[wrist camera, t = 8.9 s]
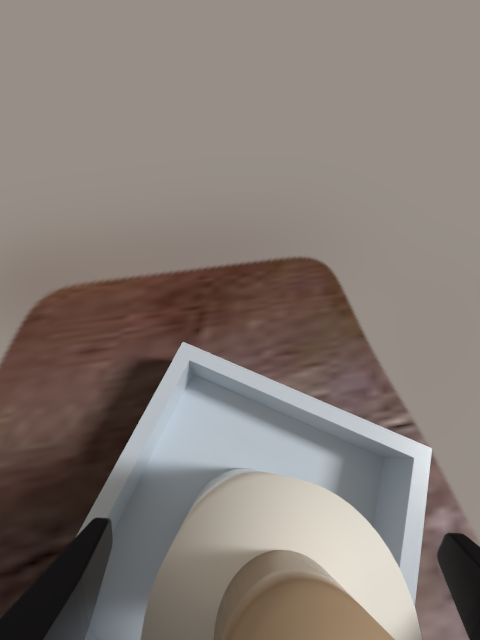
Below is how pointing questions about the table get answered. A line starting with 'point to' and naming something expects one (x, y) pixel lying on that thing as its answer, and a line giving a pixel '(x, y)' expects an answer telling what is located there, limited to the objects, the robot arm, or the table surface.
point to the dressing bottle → (277, 568)
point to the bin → (235, 453)
